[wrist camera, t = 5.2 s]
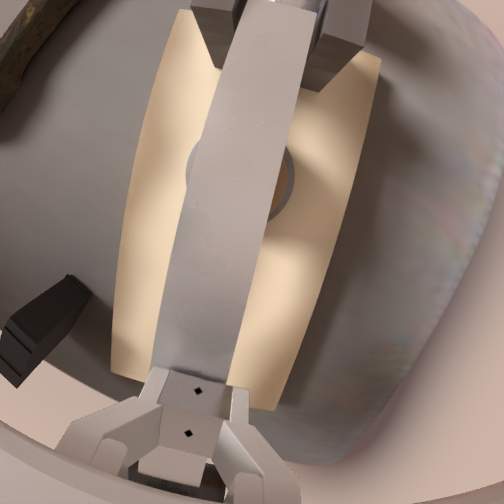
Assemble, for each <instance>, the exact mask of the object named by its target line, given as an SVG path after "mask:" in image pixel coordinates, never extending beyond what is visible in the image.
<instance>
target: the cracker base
mask: <svg viewBox="0 0 504 504" xmlns="http://www.w3.org/2000/svg"><path fill="white" fill-rule="evenodd" d="M247 1H248V0H192V2H191V5H190V7H191V9H192V10H182V9H179V12H178V14H177V17H176V19H175V22H174V25H173V28H172V30H171V33H170V36H169V39H168V42H167V44H166V47H165V50H164V53H163V56H162V59H161V63H160V66H159V69H158V72H157V75H156V79H155V82H154V85H153V89H152V92H151V96H150V99H149V103H148V107H147V110H146V114H145V118H144V122H143V126H142V130H141V134H140V138H139V143H138V147H137V151H136V156H135V160H134V165H133V170H132V175H131V180H130V185H129V191H128V196H127V202H126V208H125V214H124V220H123V227H122V234H121V241H120V248H119V256H118V265H117V274H116V284H115V295H114V307H113V322H112V342H111V372H112V373H115V374H118V375H121V376H125V377H128V378H131V379H134V380H137V381H141V382H144V383H146V380H147V378H148V376H149V371H150V364H151V358H152V351H153V345H154V339H155V333H156V328H157V322H158V317H159V311H160V306H161V301H162V295H163V290H164V285H165V280H166V275H167V271H168V266H169V261H170V257H171V252H172V248H173V243H174V239H175V234H176V230H177V226H178V222H179V218H180V213H181V209H182V205H183V201H184V197H185V193H186V190H187V186H188V182H189V178H190V169H191V164H192V161H193V158H194V156H195V154H196V152H197V149H198V145H199V142H200V139H201V135H202V132H203V128H204V125H205V122H206V118H207V115H208V112H209V109H210V105H211V102H212V99H213V96H214V93H215V90H216V87H217V84H218V81H219V78H220V75H221V72H222V69H223V66H224V63H225V60H226V57H227V54H228V51H229V49H230V46H231V43H232V40H233V38H234V35H235V32H236V29H237V27H238V24H239V22H240V19H241V16H242V14H243V11H244V9H245V6H246V3H247ZM372 2H373V0H324V2H323V4H322V6H321V8H320V10H319V13H318V15H317V17H316V20H315V24H314V29H313V33H312V37H311V41H310V46H309V50H308V54H307V58H306V63H305V67H304V71H303V75H302V79H301V84H300V88H299V92H298V96H297V100H296V104H295V109H294V113H293V117H292V121H291V125H290V129H289V134H288V138H287V142H286V146H285V150H284V154H283V157H284V160H285V163H286V167H287V174H288V179H287V187H286V190H285V193H284V196H283V198H282V200H281V202H280V203H279V205H278V206H277V207H276V208H275V209H274V211H272V212H271V213H270V214H269V215H268V220H267V224H266V228H265V232H264V236H263V240H262V244H261V248H260V252H259V256H258V260H257V264H256V268H255V272H254V276H253V280H252V284H251V288H250V292H249V296H248V300H247V304H246V308H245V312H244V316H243V320H242V324H241V328H240V332H239V336H238V339H237V343H236V347H235V351H234V355H233V359H232V363H231V367H230V371H229V375H228V379H227V383H226V385H231V386H238V387H244V388H249V390H250V400H249V407H250V408H256V409H262V410H269V411H275V409H276V406H277V404H278V402H279V399H280V397H281V394H282V392H283V389H284V387H285V384H286V382H287V379H288V377H289V374H290V372H291V369H292V367H293V364H294V362H295V359H296V356H297V354H298V351H299V349H300V346H301V343H302V341H303V338H304V335H305V332H306V330H307V327H308V324H309V321H310V319H311V316H312V313H313V310H314V307H315V304H316V302H317V299H318V296H319V293H320V290H321V287H322V284H323V281H324V278H325V275H326V272H327V269H328V266H329V263H330V259H331V256H332V253H333V250H334V247H335V244H336V240H337V237H338V234H339V230H340V227H341V224H342V220H343V217H344V214H345V210H346V207H347V203H348V200H349V196H350V192H351V189H352V185H353V182H354V178H355V174H356V170H357V166H358V163H359V159H360V155H361V151H362V147H363V143H364V139H365V135H366V130H367V126H368V122H369V118H370V113H371V109H372V104H373V100H374V95H375V90H376V85H377V80H378V75H379V70H380V65H381V60H382V59H381V58H378V57H376V56H373V55H371V54H368V53H366V52H363V51H361V50H362V49H363V48H364V45H365V40H366V35H367V29H368V24H369V19H370V13H371V8H372Z"/></svg>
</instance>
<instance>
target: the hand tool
mask: <svg viewBox="0 0 504 504" xmlns="http://www.w3.org/2000/svg"><path fill="white" fill-rule="evenodd" d="M77 1H79V0H29V1H28V2H27V4H26V5H25V6H24V8H23V9H22V10H21V12H20V13H19V14H18V15H17V17H16V18H15V20H14V21H13V22H12V24H11V25H10V26H9V28H8V29H7V31H6V32H5V33H4V35H3V37H2V38H0V114H1V112H2V110H3V109H4V108H5V106H6V104H7V103H8V101H9V100H10V99H11V97H12V96H13V95H14V93H15V92H16V91H17V90H18V88H19V87H20V86H21V84H22V81H23V80H22V74H23V72H24V70H25V68H26V66H27V64H28V63H29V61H30V60H31V58H32V57H33V55H34V54H35V53H36V52H37V51H38V49H39V48H40V47H41V46H42V44H43V43H44V42H45V40H46V39H47V38H48V37H49V36H50V35H51V34H52V33H53V31H54V30H55V28H56V26H57V25H58V24H59V22H60V21H61V20H62V18H63V17H64V16H65V15H66V14H67V12H68V11H69V10H70V9H71V8H72V7H73V6H74V5H75V4H76V2H77Z"/></svg>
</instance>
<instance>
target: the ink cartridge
mask: <svg viewBox="0 0 504 504" xmlns="http://www.w3.org/2000/svg"><path fill="white" fill-rule="evenodd" d="M91 295H92V294H91V293H90V292H89V291H88V290H87V289H85V288H84V287H83V286H82V285H81V284H80V283H79V282H78V281H77V280H76V279H75V278H73V277H72V276H71V275H68V274H67V275H66V276H65V278H64V279H63V280H61V281H60V282H58V283H57V284H55V285H54V286H52V287H51V288H49V289H48V290H47V291H45V292H44V293H42V294H41V295H39V296H38V297H36V298H35V299H34V300H32V301H31V302H29V303H28V304H26V305H25V306H24V307H22V308H21V309H19V310H18V311H17V312H16V313H15V314H14V315H12V316H11V317H10V318H9V320H8V322H7V324H6V326H5V327H4V329H3V331H2V334H1V338H0V373H1V374H2V375H3V376H4V377H5V378H6V379H7V380H8V381H9V382H10V383H11V384H12V385H13V386H14V387H16V388H18V387H19V386H20V385H21V384H22V382H23V381H24V380H25V379H26V378H27V377H28V376H29V375H30V374H31V372H32V371H33V370H34V369H35V368H36V367H37V366H38V365H39V364H40V363H41V361H42V360H43V359H44V358H45V357H46V356H47V355H48V354H49V353H50V352H51V351H52V350H53V349H54V348H55V347H56V346H57V344H58V343H59V342H60V341H61V340H62V339H63V338H64V337H65V336H66V335H67V334H68V332H69V331H70V329H71V328H72V326H73V324H74V323H75V321H76V319H77V318H78V316H79V314H80V313H81V311H82V310H83V308H84V306H85V305H86V303H87V302H88V300H89V299H90V297H91Z"/></svg>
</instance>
